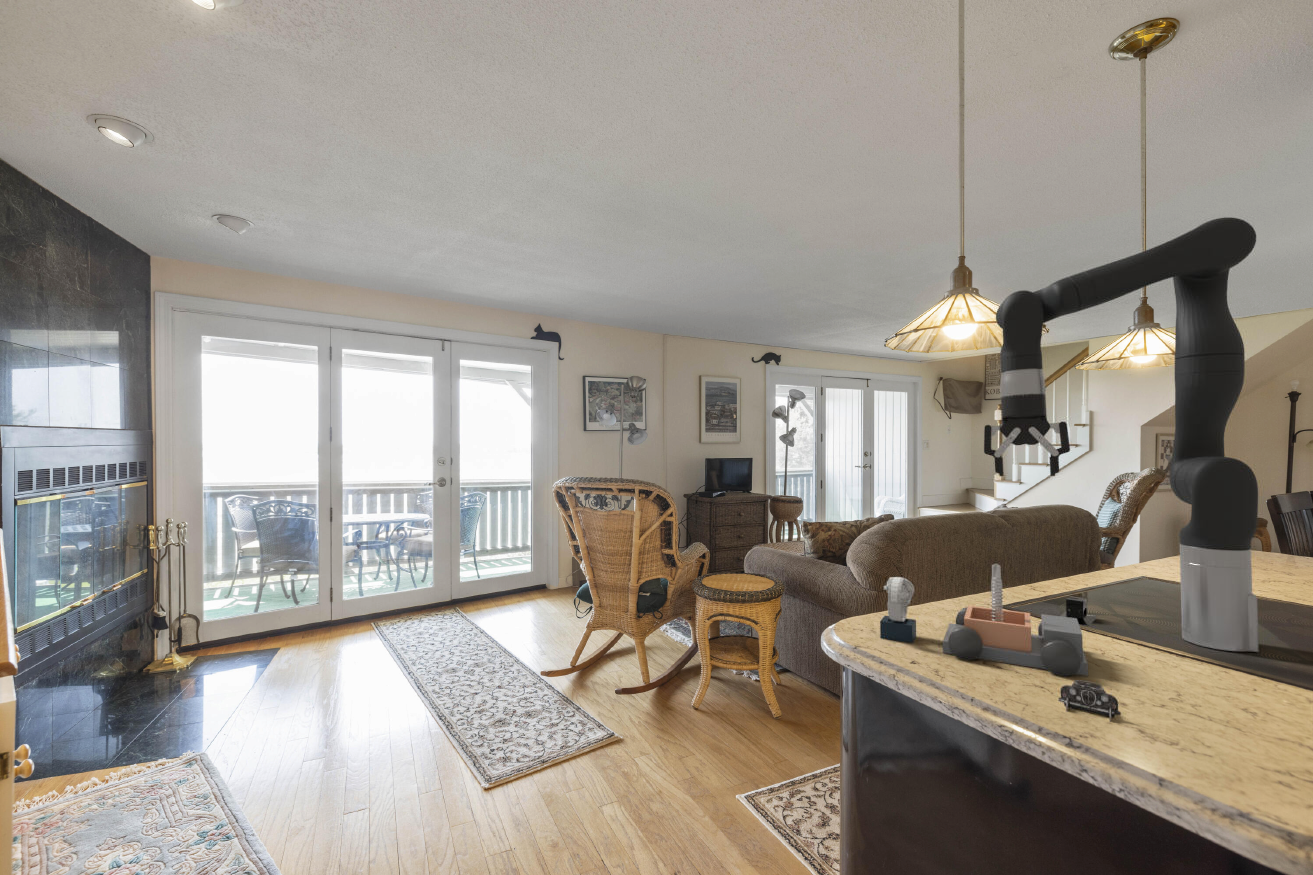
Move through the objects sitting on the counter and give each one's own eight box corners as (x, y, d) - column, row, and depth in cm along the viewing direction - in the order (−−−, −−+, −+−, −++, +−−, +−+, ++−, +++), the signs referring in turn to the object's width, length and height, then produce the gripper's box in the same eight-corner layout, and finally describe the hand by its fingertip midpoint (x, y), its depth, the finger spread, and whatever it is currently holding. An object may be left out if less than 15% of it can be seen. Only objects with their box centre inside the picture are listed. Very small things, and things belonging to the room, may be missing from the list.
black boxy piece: (1062, 612, 126) (1062, 590, 126) (1104, 618, 121) (1104, 596, 121) (1049, 623, 117) (1049, 600, 117) (1094, 631, 112) (1094, 607, 112)
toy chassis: (1079, 649, 101) (1078, 614, 101) (1089, 680, 87) (1088, 640, 87) (950, 630, 111) (950, 599, 111) (941, 656, 98) (941, 620, 98)
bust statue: (917, 633, 110) (916, 575, 110) (910, 645, 103) (909, 583, 103) (886, 628, 113) (885, 572, 113) (877, 640, 106) (876, 580, 106)
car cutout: (1054, 717, 77) (1053, 682, 77) (1060, 700, 82) (1060, 668, 82) (1211, 756, 67) (1210, 716, 67) (1207, 734, 72) (1207, 697, 72)
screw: (975, 635, 102) (997, 633, 103) (998, 644, 98) (1020, 641, 99) (973, 561, 102) (995, 559, 104) (996, 566, 98) (1019, 565, 99)
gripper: (980, 395, 116) (984, 477, 115) (1067, 389, 108) (1072, 476, 108) (982, 398, 122) (986, 475, 121) (1065, 392, 114) (1069, 474, 114)
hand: (1026, 476), depth 115 cm, fingers open, 8 cm apart
